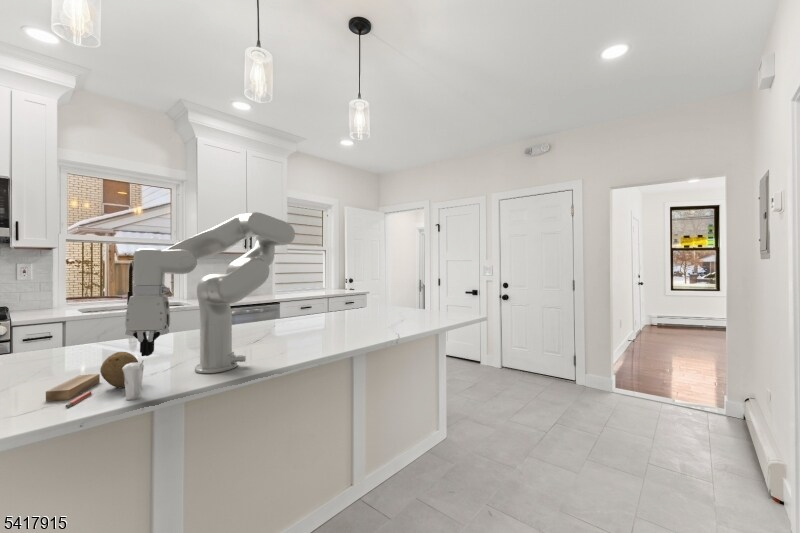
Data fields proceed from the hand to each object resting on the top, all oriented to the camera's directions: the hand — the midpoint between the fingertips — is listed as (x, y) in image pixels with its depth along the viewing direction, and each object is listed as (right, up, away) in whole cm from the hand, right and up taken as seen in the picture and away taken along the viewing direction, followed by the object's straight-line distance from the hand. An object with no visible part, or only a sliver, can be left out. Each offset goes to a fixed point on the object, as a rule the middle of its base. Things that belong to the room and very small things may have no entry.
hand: (146, 355), depth 104 cm
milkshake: (+4, -9, -10) cm, 14 cm away
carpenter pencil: (-9, -9, -11) cm, 17 cm away
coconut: (-7, -9, -1) cm, 11 cm away
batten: (-17, -9, -5) cm, 19 cm away
